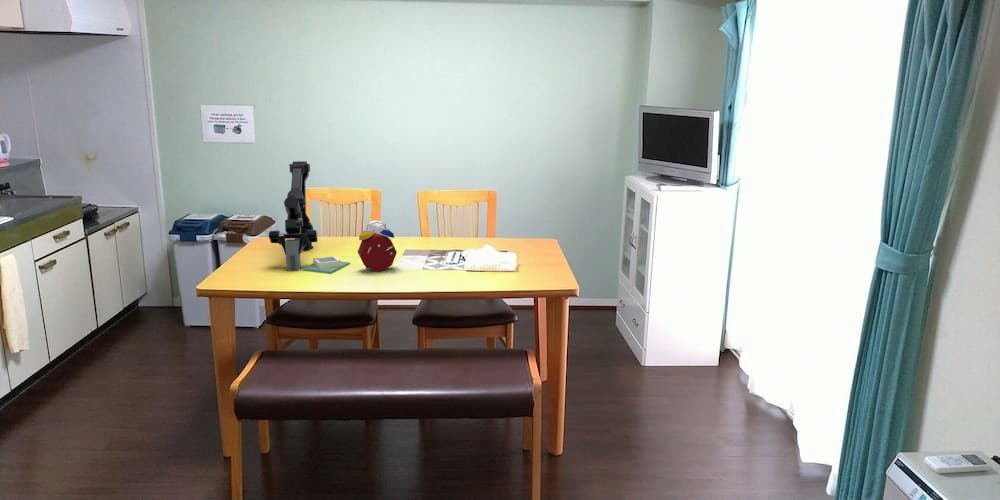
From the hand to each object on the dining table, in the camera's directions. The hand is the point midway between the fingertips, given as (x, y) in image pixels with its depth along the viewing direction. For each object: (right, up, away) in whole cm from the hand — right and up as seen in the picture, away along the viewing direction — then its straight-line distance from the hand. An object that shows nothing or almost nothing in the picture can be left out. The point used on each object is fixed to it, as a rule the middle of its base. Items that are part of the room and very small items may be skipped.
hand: (292, 254), depth 291 cm
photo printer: (+28, +3, +39) cm, 48 cm away
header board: (+12, -5, +6) cm, 15 cm away
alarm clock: (+34, -7, +2) cm, 35 cm away
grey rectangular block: (0, -6, +3) cm, 7 cm away
